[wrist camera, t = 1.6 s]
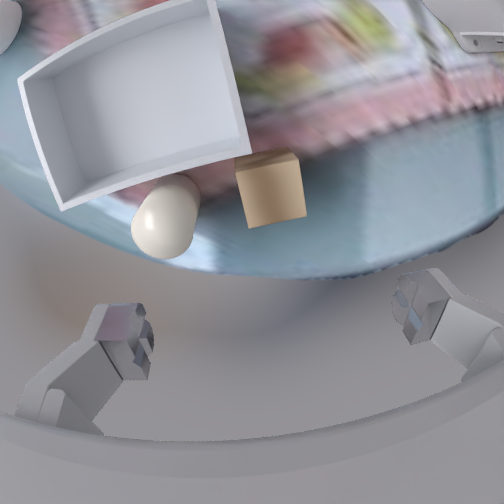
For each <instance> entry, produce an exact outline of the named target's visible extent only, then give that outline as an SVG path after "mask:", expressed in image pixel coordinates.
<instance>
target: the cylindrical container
mask: <svg viewBox="0 0 504 504" xmlns="http://www.w3.org/2000/svg"><path fill="white" fill-rule="evenodd" d="M21 20H22V9H21V6H20V5H19V3H17V2H14V1H8V0H0V54H2V53H3V52H4V51H5V50H6V49H7V48H8V47H9V46H10V44H11V43H12V42H13V40H14V38H15V36H16V34H17V32H18V30H19V27H20V24H21Z"/></svg>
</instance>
